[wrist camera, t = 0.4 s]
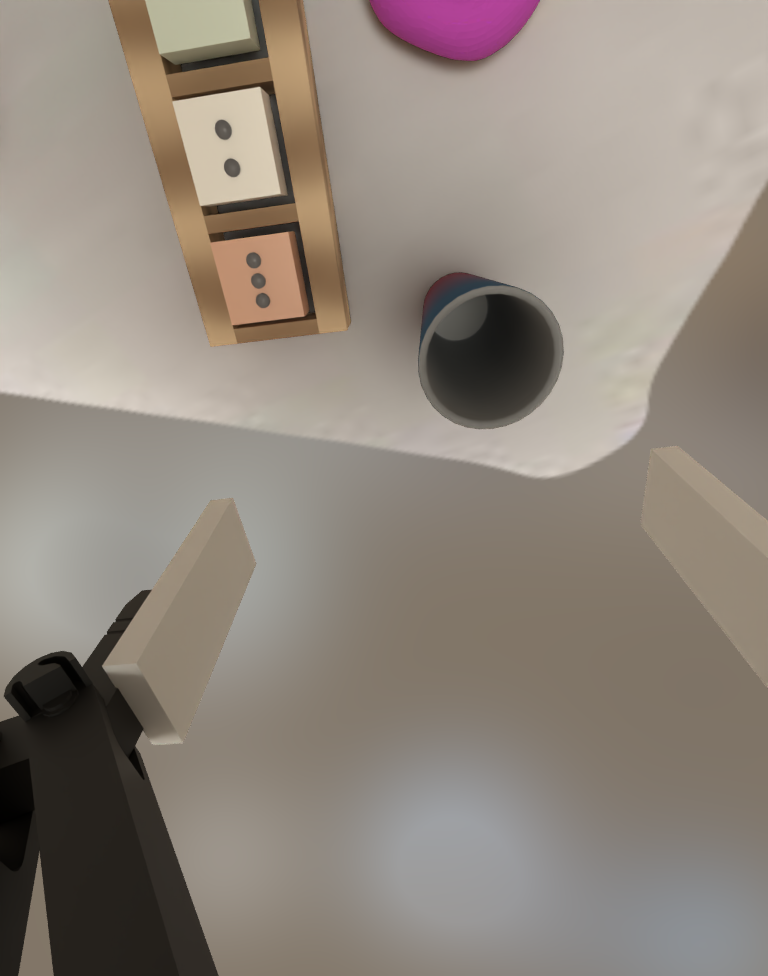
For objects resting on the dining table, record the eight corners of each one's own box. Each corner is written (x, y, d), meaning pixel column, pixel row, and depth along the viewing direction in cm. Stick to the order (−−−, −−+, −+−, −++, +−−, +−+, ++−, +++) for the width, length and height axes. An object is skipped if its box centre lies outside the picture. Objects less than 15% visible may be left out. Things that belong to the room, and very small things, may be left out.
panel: (110, -69, 26) (78, -100, 24) (287, -104, 26) (274, -141, 23) (223, 337, 37) (210, 346, 35) (350, 322, 36) (347, 330, 34)
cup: (426, 366, 38) (441, 446, 25) (398, 278, 35) (398, 316, 22) (511, 337, 37) (574, 405, 24) (491, 243, 33) (550, 261, 20)
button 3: (220, 241, 32) (208, 242, 30) (294, 231, 31) (287, 232, 29) (240, 319, 34) (231, 325, 32) (309, 310, 34) (304, 316, 32)
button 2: (186, 108, 28) (170, 100, 26) (269, 95, 28) (259, 86, 26) (211, 206, 31) (198, 205, 29) (287, 195, 30) (279, 193, 28)
